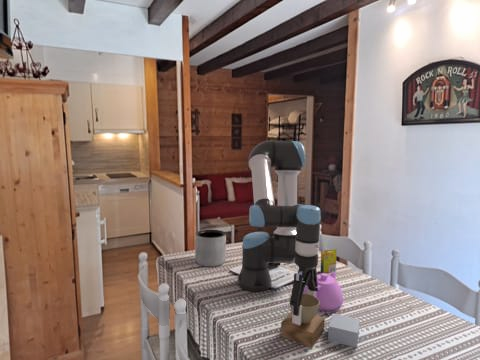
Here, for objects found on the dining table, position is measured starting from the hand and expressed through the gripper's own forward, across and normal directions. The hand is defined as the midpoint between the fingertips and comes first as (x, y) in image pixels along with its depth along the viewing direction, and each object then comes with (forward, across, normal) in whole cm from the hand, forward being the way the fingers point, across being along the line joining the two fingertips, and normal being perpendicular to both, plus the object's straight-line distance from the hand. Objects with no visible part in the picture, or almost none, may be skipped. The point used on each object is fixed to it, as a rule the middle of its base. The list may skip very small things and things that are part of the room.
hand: (303, 315), depth 113 cm
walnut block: (+6, 0, 0) cm, 6 cm away
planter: (+7, +34, +66) cm, 74 cm away
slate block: (+6, +6, -12) cm, 15 cm away
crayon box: (+7, +58, +11) cm, 60 cm away
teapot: (+7, +26, +2) cm, 26 cm away
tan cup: (+2, 0, 0) cm, 2 cm away
